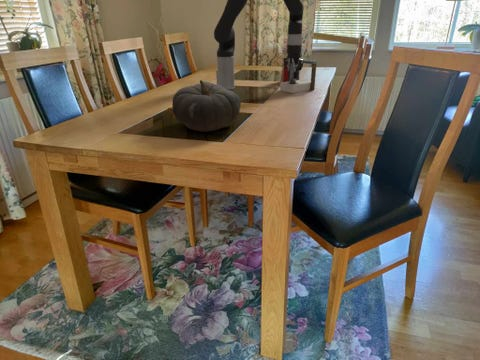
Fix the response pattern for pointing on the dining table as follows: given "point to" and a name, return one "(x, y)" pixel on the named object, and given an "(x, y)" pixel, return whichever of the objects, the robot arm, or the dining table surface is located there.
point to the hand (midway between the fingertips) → (292, 78)
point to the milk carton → (284, 70)
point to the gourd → (206, 106)
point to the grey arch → (313, 73)
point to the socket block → (295, 86)
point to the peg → (292, 74)
